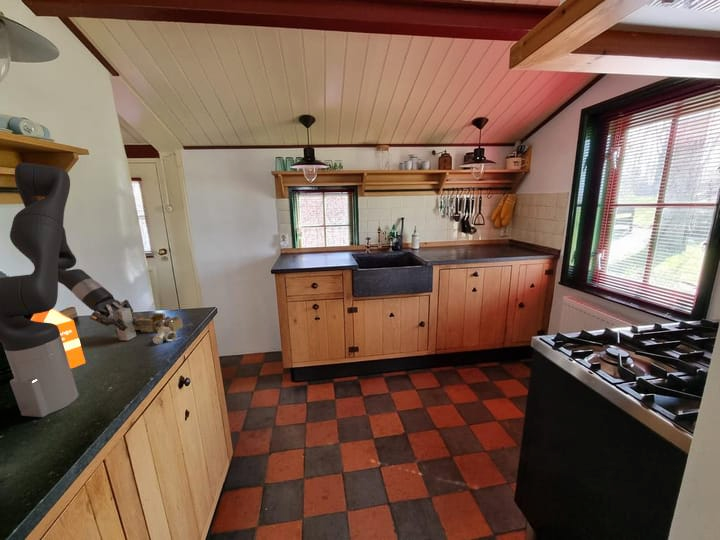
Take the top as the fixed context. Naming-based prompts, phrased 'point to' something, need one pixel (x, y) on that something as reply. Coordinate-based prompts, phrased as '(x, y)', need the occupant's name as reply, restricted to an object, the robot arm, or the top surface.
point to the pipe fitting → (164, 335)
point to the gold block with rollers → (157, 322)
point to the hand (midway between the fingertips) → (130, 326)
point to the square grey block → (126, 318)
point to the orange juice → (64, 335)
